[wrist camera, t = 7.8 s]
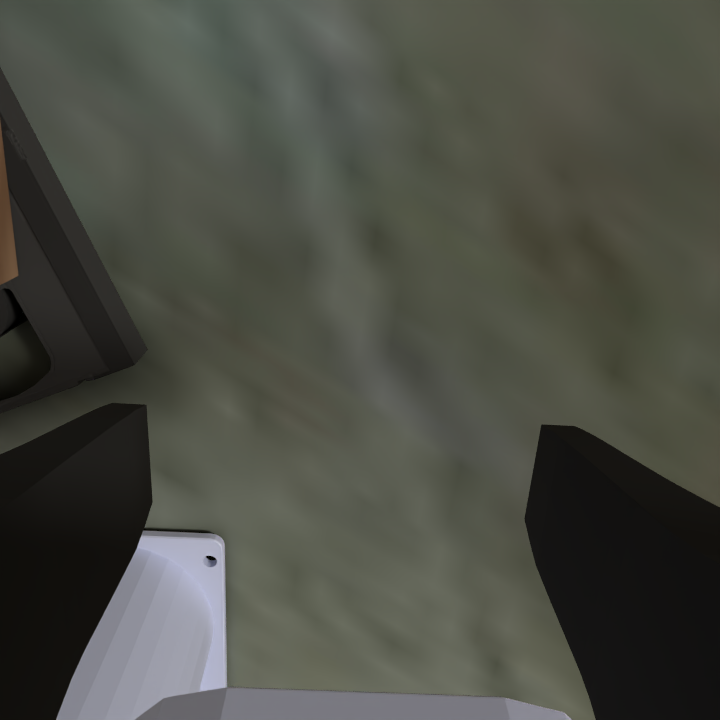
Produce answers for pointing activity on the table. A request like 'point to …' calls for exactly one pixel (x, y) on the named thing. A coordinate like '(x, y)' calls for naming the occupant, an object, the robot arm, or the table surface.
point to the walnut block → (6, 226)
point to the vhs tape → (57, 272)
